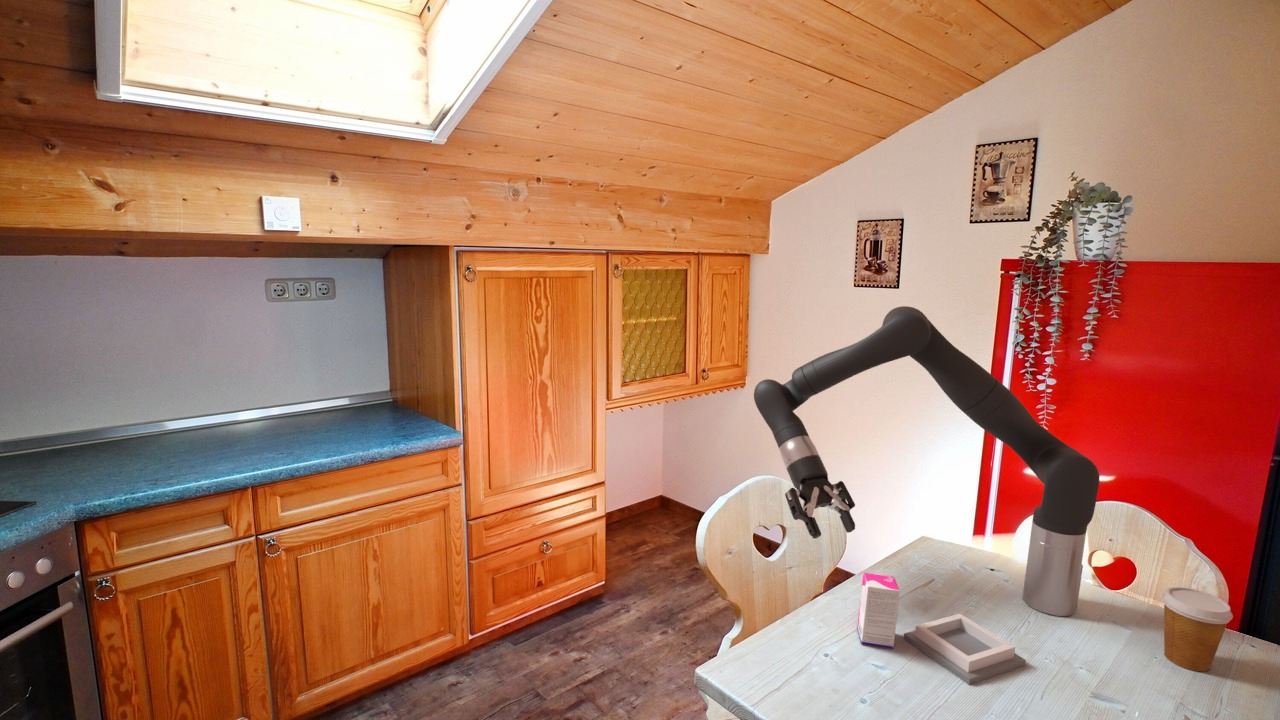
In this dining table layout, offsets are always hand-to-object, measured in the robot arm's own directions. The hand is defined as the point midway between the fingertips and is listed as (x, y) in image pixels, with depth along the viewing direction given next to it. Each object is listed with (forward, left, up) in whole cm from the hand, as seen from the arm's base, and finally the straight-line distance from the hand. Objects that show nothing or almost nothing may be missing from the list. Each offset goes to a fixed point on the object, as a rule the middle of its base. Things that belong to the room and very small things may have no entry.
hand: (834, 534), depth 127 cm
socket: (-12, +22, -15) cm, 29 cm away
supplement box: (0, +13, -15) cm, 20 cm away
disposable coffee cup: (-48, +39, -15) cm, 64 cm away
